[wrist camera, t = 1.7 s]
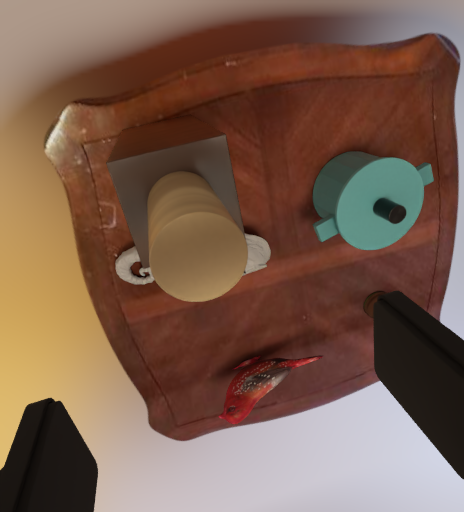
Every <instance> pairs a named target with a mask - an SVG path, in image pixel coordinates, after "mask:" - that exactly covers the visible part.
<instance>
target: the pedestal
mask: <svg viewBox="0 0 464 512" xmlns="http://www.w3.org/2000/svg"><path fill="white" fill-rule="evenodd" d="M106 164H107V167H108V170H109V173H110V176H111V178H112V181H113V184H114V187H115V190H116V193H117V195H118V198H119V201H120V204H121V207H122V210H123V213H124V215H125V218H126V221H127V224H128V227H129V230H130V232H131V235H132V238H133V241H134V244H135V247H136V250H137V252H138V255H139V258H140V261H141V264H142V267H143V269H146V268H149V267H150V263H149V240H148V212H147V201H148V196H149V193H150V191H151V189H152V187H153V186H154V184H155V183H156V182H157V181H158V180H159V179H161V178H162V177H164V176H165V175H167V174H170V173H173V172H178V171H185V172H191V173H194V174H197V175H199V176H200V177H202V178H203V179H205V180H206V181H207V182H208V183H209V185H210V186H211V187H212V189H213V190H214V192H215V193H216V195H217V196H218V198H219V199H220V201H221V202H222V204H223V205H224V206H225V208H226V209H227V211H228V212H229V214H230V215H231V217H232V218H233V220H234V221H235V222H236V224H237V225H238V227H239V228H240V230H241V231H242V233H243V235H244V237H245V232H244V227H243V222H242V217H241V212H240V206H239V201H238V196H237V191H236V186H235V180H234V175H233V170H232V165H231V160H230V154H229V149H228V144H227V139H226V135H225V134H224V133H222V132H220V131H218V130H217V129H215V128H213V127H211V126H210V125H208V124H206V123H204V122H203V121H201V120H199V119H197V118H196V117H194V116H192V115H186V116H182V117H177V118H173V119H169V120H164V121H160V122H156V123H151V124H147V125H142V126H138V127H134V128H129V129H125V130H122V132H121V134H120V136H119V138H118V140H117V142H116V144H115V146H114V148H113V150H112V152H111V154H110V156H109V158H108V160H107V162H106ZM245 239H246V238H245Z"/></svg>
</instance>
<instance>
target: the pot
mask: <svg viewBox="0 0 464 512" xmlns="http://www.w3.org/2000/svg"><path fill="white" fill-rule="evenodd" d="M379 158H381V157H378V156H374V155H371V154H367V153H364V152H360V151H359V152H357V151H351V152H346V153H343V154H340V155H338V156H336V157H335V158H333V159H332V160H330V161H329V162H328V163H327V164H326V165H325V166H324V167H323V169H322V170H321V171H320V173H319V174H318V176H317V179H316V181H315V184H314V188H313V203H314V207H315V209H316V211H317V213H318V214H319V216H320V217H321V218H322V219H321V220H319V221H318V222H316V223H314V224H313V227H314V230H315V232H316V235H317V237H318V239H319V240H320V241H321V242H323V241H325V240H327V239H329V238H331V237H332V236H334V235H336V234H338V233H339V231H338V228H337V225H336V219H335V209H336V203H337V199H338V197H339V194H340V192H341V190H342V188H343V186H344V185H345V183H346V182H347V180H348V179H349V178H350V177H351V175H352V174H353V173H354V172H355V171H357V170H358V169H359V168H360V167H362V166H363V165H365V164H367V163H369V162H371V161H373V160H376V159H379ZM416 169H417V171H418V172H419V174H420V176H421V178H422V182H423V187H424V186H425V185H427V184H429V183H431V182H433V181H434V179H433V174H432V169H431V164H429V163H426V162H425V163H423V164H421V165H419V166H417V167H416Z"/></svg>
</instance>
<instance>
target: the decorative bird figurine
mask: <svg viewBox="0 0 464 512" xmlns="http://www.w3.org/2000/svg"><path fill="white" fill-rule="evenodd" d="M260 356H261V355H260ZM260 356H259V357H258V358H257V357H254V358H252V359H249V360H247V361H244V362H242V363H241V364H240V365H239V366H237V367H236V368H234V369H237V368H238V367H243V366H246V365H248V364H250V365H248V366H247V367H245V368H244V369H242V370H241V371H240V372H239V373H238V374H237V375H236V376H235V377H234V379H233V380H232V382H231V383H230V385H229V387H228V390H227V395H226V401H225V404H224V412H223V413H222V414H221V415H220V416H219V418H222V419H226V421H228V422H229V423H231V424H237V423H239V422H241V421H242V420H243V419H244V418H245V417H246V416H247V415H248V414H249V413H250V412H251V410H252V408H253V406H254V405H255V403H256V402H257V401H258V400H260V399H261V398H262V397H263V396H264V395H265V394H267V393H268V392H269V391H271V390H272V389H273V388H274V387H276V386H277V385H278V384H279V383H280V382H281V381H282V380H283V379H284V378H285V377H286V376H287V375H288V374H289V373H290V372H291V370H292V369H294V368H296V367H299V366H301V365H304V364H307V363H310V362H312V361H315V360H318V359H320V358H322V357H323V356H314V357H308V358H303V359H297V360H289V359H282V358H274V359H268V360H260V361H255V360H257V359H259V358H260ZM234 369H233V370H234Z"/></svg>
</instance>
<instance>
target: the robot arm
mask: <svg viewBox="0 0 464 512" xmlns="http://www.w3.org/2000/svg"><path fill="white" fill-rule="evenodd" d="M373 318H374V367H375V372H376V374H377V376H378V378H379V379H380V381H381V382H382V383H383V384H384V385H385V387H386V388H387V389H388V390H389V391H390V393H391V394H392V395H393V396H394V398H395V399H396V400H397V401H398V402H399V404H400V405H401V406H402V407H403V408H404V410H405V411H406V412H407V413H408V414H409V416H410V417H411V418H412V419H413V420H414V422H415V423H416V424H417V425H418V427H419V428H420V429H421V430H422V431H423V433H424V434H425V435H426V436H427V437H428V439H429V440H430V441H431V442H432V443H433V445H434V446H435V447H436V448H437V450H438V451H439V452H440V453H441V454H442V456H443V457H444V458H445V459H446V460H447V462H448V463H449V464H450V465H451V466H452V468H453V469H454V470H455V471H456V472H457V474H458V475H459V476H460V477H461V478H462V479H464V340H463V339H461V338H460V337H459V336H458V335H456V334H455V333H454V332H452V331H451V330H450V329H448V328H447V327H445V326H444V325H443V324H442V323H440V322H439V321H438V320H436V319H435V318H434V317H433V316H431V315H430V314H429V313H427V312H426V311H425V310H424V309H422V308H421V307H420V306H418V305H417V304H416V303H414V302H413V301H412V300H411V299H409V298H408V297H407V296H405V295H404V294H403V293H402V292H400V291H393V292H390V293H387V294H383V295H380V296H378V298H377V302H375V303H374V305H373ZM97 478H98V468H97V463H96V461H95V459H94V457H93V455H92V454H91V452H90V450H89V448H88V447H87V445H86V443H85V442H84V440H83V438H82V436H81V435H80V433H79V431H78V429H77V428H76V426H75V424H74V423H73V421H72V419H71V417H70V416H69V414H68V412H67V410H66V409H65V407H64V405H63V404H62V402H61V401H56V402H55V401H54V399H52V398H48V399H44V400H41V401H38V402H35V403H31V404H29V405H27V407H26V408H25V411H24V413H23V416H22V419H21V422H20V424H19V427H18V430H17V432H16V435H15V438H14V441H13V443H12V446H11V449H10V451H9V454H8V457H7V460H6V462H5V465H4V467H3V468H2V469H1V470H0V512H94V504H95V494H96V487H97Z"/></svg>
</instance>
